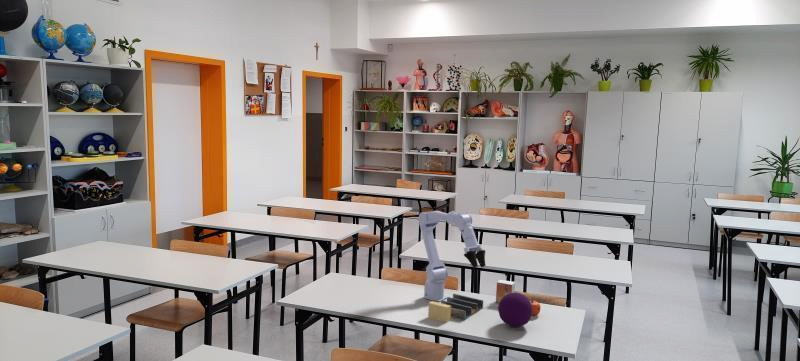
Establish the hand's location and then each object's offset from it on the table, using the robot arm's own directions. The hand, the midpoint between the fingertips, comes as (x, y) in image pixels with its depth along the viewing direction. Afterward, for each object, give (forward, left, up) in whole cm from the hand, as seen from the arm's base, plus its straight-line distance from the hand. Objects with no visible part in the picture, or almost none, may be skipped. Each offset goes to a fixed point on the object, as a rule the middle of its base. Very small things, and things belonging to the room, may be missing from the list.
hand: (479, 266), depth 262 cm
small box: (+2, +26, -24) cm, 36 cm away
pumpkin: (+19, +18, -24) cm, 36 cm away
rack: (-11, +2, -24) cm, 26 cm away
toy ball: (+18, 0, -24) cm, 30 cm away
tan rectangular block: (-13, -13, -24) cm, 30 cm away
